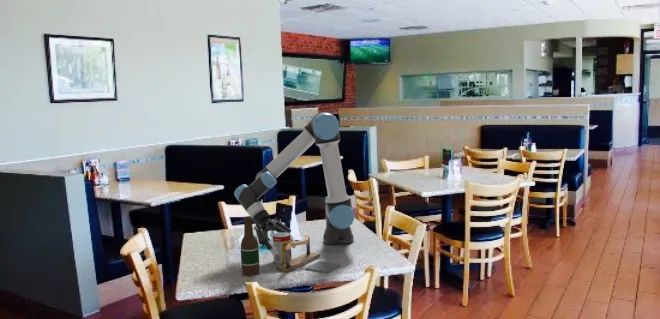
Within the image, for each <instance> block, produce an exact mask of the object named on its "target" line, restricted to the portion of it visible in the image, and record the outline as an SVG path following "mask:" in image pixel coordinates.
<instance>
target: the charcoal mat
mask: <svg viewBox="0 0 660 319" xmlns="http://www.w3.org/2000/svg"><path fill="white" fill-rule="evenodd" d="M341 266H342V264H340V263H333V262H327V261H323V260H320V261H317V262H315V263H312V264H311V265H309V266H306V267H305V268H304V270H306V271H311V272H316V271H317V273H322V274H328V273H330V272H333V271H334V270H336V269H339V268H340V267H341Z"/></svg>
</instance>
